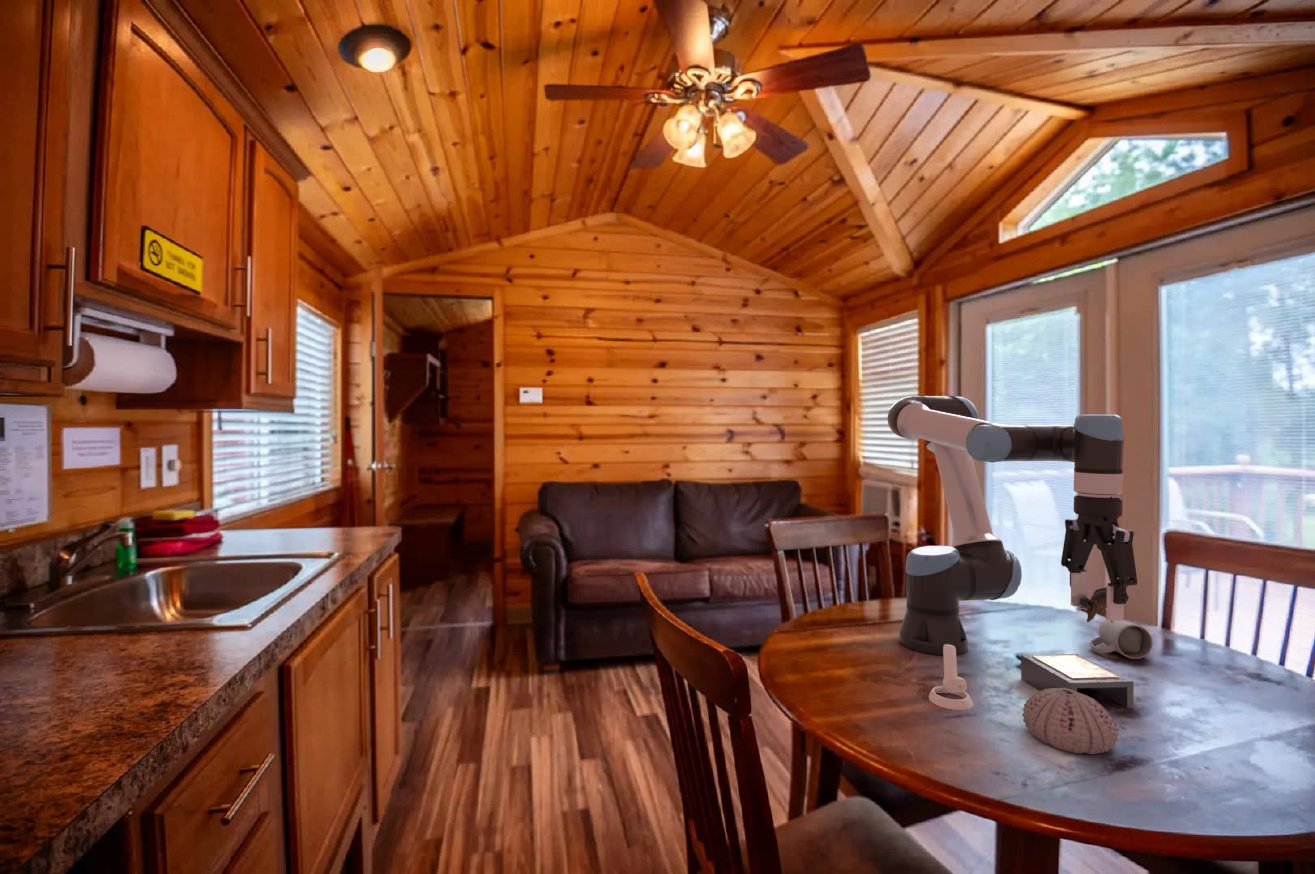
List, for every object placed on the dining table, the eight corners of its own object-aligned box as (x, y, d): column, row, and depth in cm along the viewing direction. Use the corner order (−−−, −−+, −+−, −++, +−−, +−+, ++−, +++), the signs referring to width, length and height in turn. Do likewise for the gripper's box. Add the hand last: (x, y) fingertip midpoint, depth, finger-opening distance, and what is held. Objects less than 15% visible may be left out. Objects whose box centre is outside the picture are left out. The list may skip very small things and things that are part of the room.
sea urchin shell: (1140, 753, 94) (1140, 703, 94) (1076, 767, 90) (1075, 715, 90) (1062, 716, 107) (1061, 671, 107) (1003, 726, 103) (1002, 680, 103)
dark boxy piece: (1070, 709, 109) (1070, 681, 109) (1021, 678, 123) (1020, 653, 123) (1133, 708, 109) (1133, 679, 109) (1077, 677, 123) (1076, 652, 123)
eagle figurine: (1123, 624, 108) (1140, 607, 113) (1096, 589, 110) (1114, 573, 115) (1084, 635, 114) (1102, 618, 119) (1059, 601, 116) (1077, 586, 121)
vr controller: (956, 658, 121) (974, 649, 115) (962, 720, 114) (982, 714, 109) (920, 650, 121) (936, 640, 116) (924, 712, 115) (941, 705, 109)
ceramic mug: (1128, 646, 141) (1127, 614, 141) (1154, 659, 133) (1153, 625, 133) (1081, 646, 142) (1080, 614, 142) (1103, 659, 134) (1102, 625, 134)
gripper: (1166, 501, 103) (1164, 630, 103) (1074, 488, 124) (1073, 596, 124) (1125, 502, 103) (1123, 631, 103) (1040, 489, 123) (1039, 596, 124)
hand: (1096, 612), depth 114 cm, fingers closed on eagle figurine, 8 cm apart
